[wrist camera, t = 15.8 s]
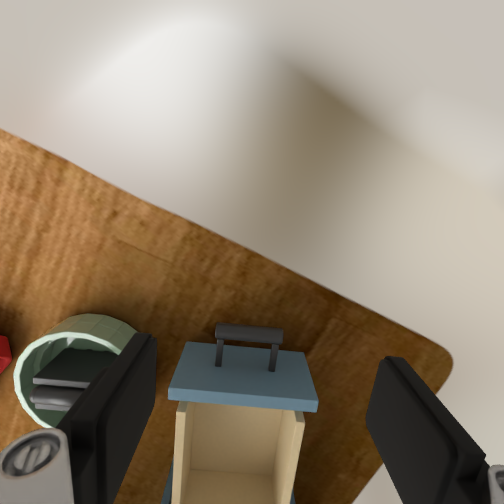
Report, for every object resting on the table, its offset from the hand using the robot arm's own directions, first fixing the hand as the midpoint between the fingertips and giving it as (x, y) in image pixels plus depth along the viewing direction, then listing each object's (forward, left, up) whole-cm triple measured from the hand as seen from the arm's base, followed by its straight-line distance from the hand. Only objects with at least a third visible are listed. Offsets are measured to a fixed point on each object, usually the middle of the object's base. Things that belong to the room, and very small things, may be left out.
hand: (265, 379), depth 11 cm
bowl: (-16, -14, -18) cm, 28 cm away
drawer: (0, -16, -17) cm, 24 cm away
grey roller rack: (-16, -14, -18) cm, 27 cm away
